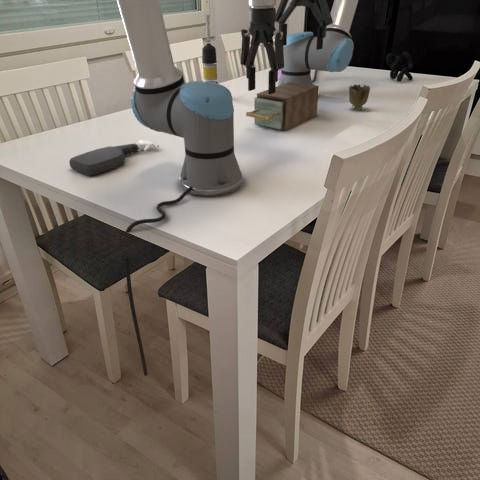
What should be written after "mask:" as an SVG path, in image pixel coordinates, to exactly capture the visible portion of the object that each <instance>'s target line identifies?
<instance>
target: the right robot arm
mask: <svg viewBox="0 0 480 480" xmlns="http://www.w3.org/2000/svg"><path fill="white" fill-rule="evenodd" d="M358 3H359V0H333V4H332V7H331V10H330V8H329V4H328V2H327V0H318V2H317V1H316V0H291V1H290V2H289V0H280V2H279V5H278V7H277V9H276V21H275V23H277V24H278V31H279V32H282V31H283V32H284V38H283V52H284V68H282V69H281V77H280V79H278V83H277V86H280V85H283V84H285V83H288V82H297V83H304V84H310V85H314V84H313V83H314V82H315V81H316V79H317V73H318V71H321V72H328V73H341V72H343V71H345V70H346V69H347V67H348V66H349V65H350V62H351V60H352V57H353V53H354V52H353V51H354V48H355V46H354V41H353V40H352V35H351V33H350V30H351V26H352V24H353V20H354V16H355V14H356V10H357V7H358ZM318 4H319V6H318ZM297 7H304V8H305V7H308V8H309V9H310V11H311V13H312V14H313V16H314V17H315V19H316V21H317V23H318V24H319V26H317V33H316V36H314V32H313V31H303V32H301V31H300V32H294V33H289V34H288V23H287V20H288V19H289V18H290V16H291V15H292V14H293V12H294V11H295V9H296V8H297ZM319 7H320V8H319ZM312 71H314V75H313V79H312V76H311V74H312V73H311V72H312Z"/></svg>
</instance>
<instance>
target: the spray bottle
mask: <svg viewBox="0 0 480 480" xmlns="http://www.w3.org/2000/svg"><path fill="white" fill-rule="evenodd" d="M159 148H160V145H159V144H158V143H155V142H151V141H148V140H144V139H139V140H138V141H137V142H135V143H129V144H128V143H126V144H122V145H113V146H105V147H100V148H97V149H94V150H90V151H87V152H83V153H81V154H78V155H74V156H73V157H70V159H69V161H68V162H69V167H70V168H71V169H72V170H74V171H75V172H78V173H81V174H83V175H85V176H89V177H90V176H91V177H92V176H95V175H99V174H102V173H105V172H107V171H110V170H113V169H116V168H118V167H120V166H122V165H123V164H124V163H125V158H126V156H127V155H131V154H133V153H138V151H140V150H143V151H144V152H146V151H147V150H149V149H159Z"/></svg>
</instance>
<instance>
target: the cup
mask: <svg viewBox="0 0 480 480" xmlns="http://www.w3.org/2000/svg"><path fill="white" fill-rule="evenodd" d="M370 92H371V87H370V86H369V85H367V84H364V85H363V86H361V84H358V85H357V84H354V85H349V86H348V98H349V100H348V101H349V103H350V104H351V108H352V110H354V111H361V110H362V109H363V106H364V105H366V103H367V102H368V100H369V97H370Z"/></svg>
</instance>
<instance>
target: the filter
mask: <svg viewBox="0 0 480 480" xmlns="http://www.w3.org/2000/svg"><path fill="white" fill-rule="evenodd" d="M210 17H211V14H204V18H205V27H206V29H205V30H206V31H205V33H206V39H207V40H206V42H207V43H206V45H204V46H202V49H201V50H202V51H201V52H202V54H201V55H202V57H201V58H202V61H201V63H202V71H203V72H202V73H203V74H202V75H203V81H206V82H214V83H217V84H219V82H218V81H216V80H218V64H216V63H218V61H217V48H216V47H215V46H214V45H212V43H210V42H211V40H210V39H211V31H210V29H211V28H210Z"/></svg>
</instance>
